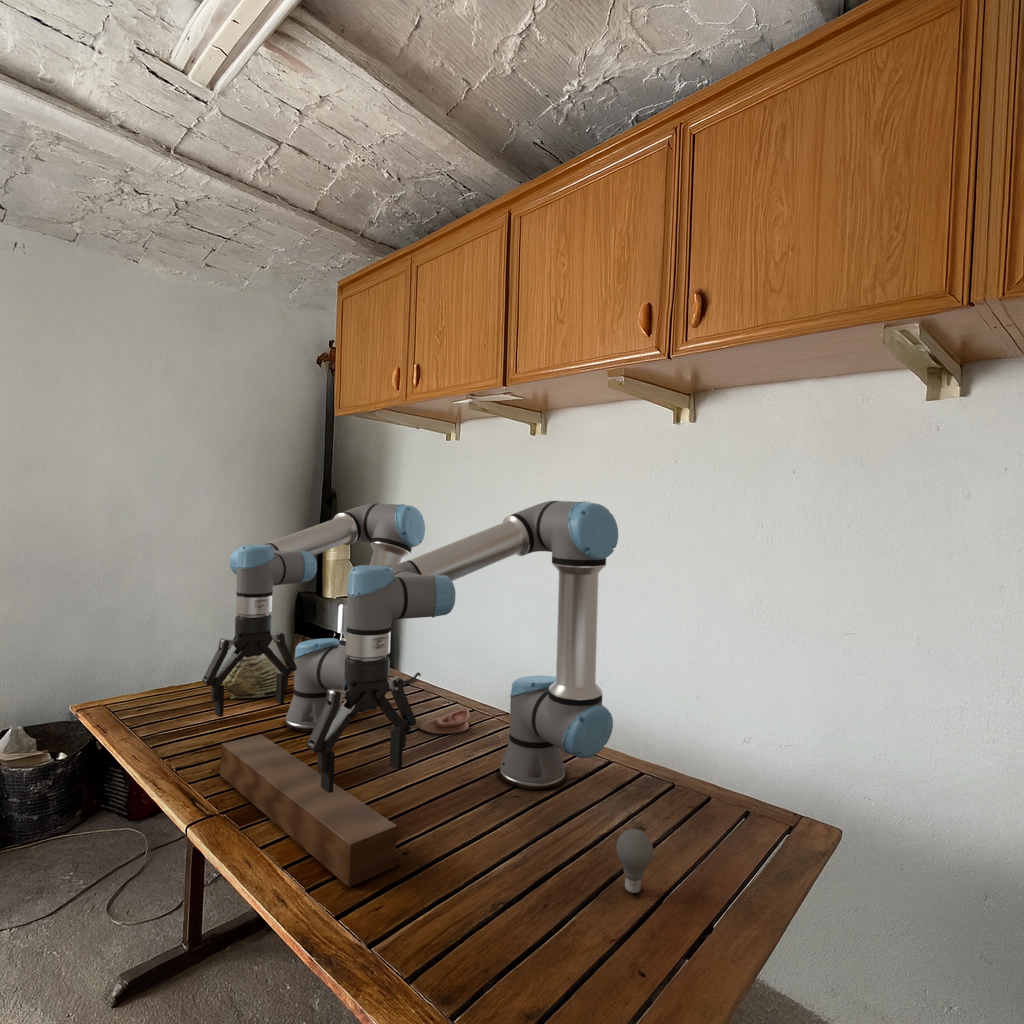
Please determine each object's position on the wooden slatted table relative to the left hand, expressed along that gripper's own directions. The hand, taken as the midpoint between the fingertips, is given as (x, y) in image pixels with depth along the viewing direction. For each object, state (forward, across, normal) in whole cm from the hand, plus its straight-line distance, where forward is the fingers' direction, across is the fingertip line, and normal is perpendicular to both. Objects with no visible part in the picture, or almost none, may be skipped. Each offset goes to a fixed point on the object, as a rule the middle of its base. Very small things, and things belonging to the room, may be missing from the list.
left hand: (250, 708), depth 142 cm
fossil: (+15, +25, +55) cm, 62 cm away
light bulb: (+15, +30, -82) cm, 89 cm away
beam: (+15, 0, -23) cm, 28 cm away
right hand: (0, 0, -46) cm, 46 cm away
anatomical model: (+15, +53, -4) cm, 56 cm away
